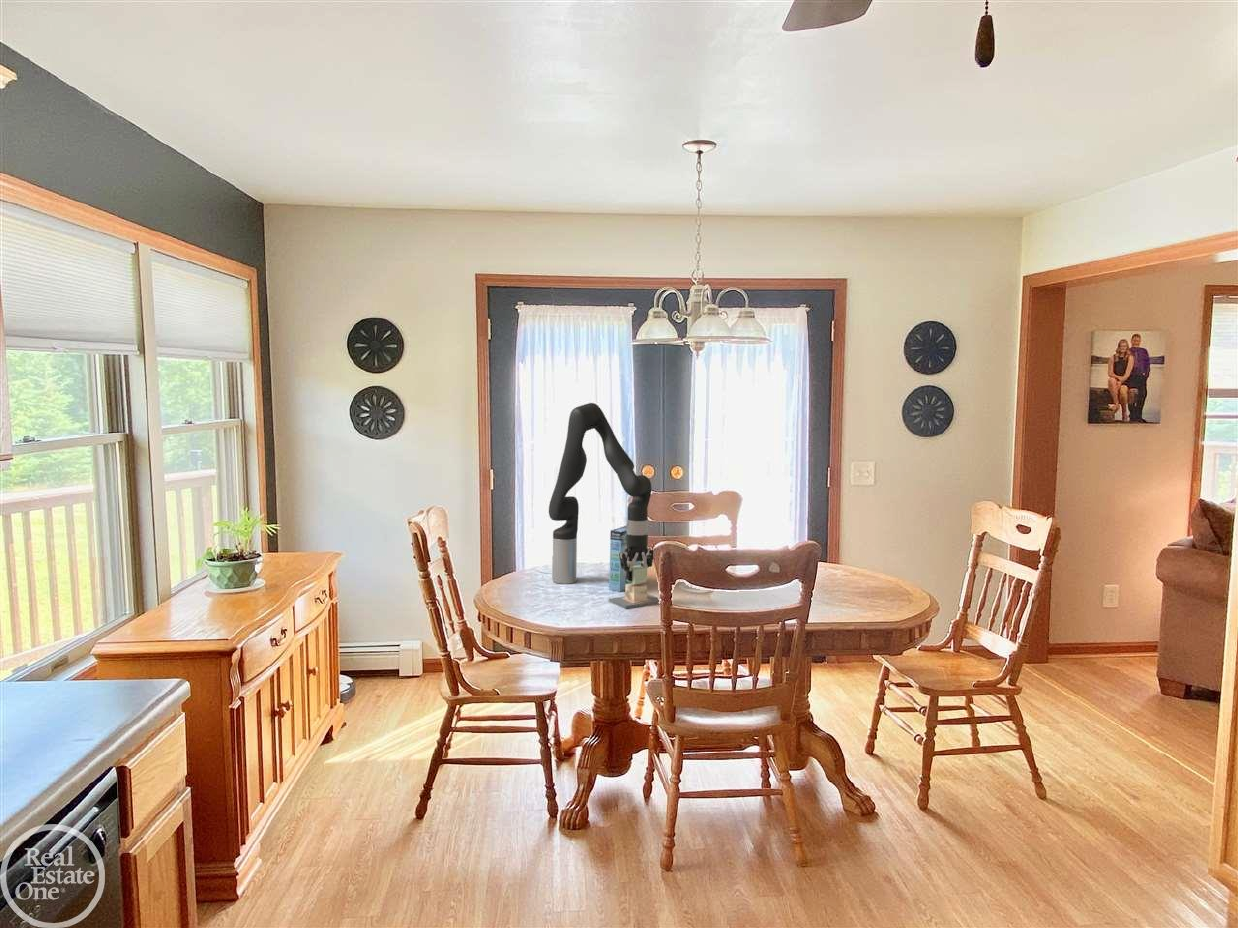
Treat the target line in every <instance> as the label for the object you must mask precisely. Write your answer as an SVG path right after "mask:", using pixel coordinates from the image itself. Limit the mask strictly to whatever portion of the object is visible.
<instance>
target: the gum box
mask: <svg viewBox="0 0 1238 928" xmlns="http://www.w3.org/2000/svg"><path fill="white" fill-rule="evenodd" d="M609 537H610V538H609V539H610V540H609V541H610V542H609V547H610V548H609V578H608V579H609V583H608V584H609V585H608V588H609V589H608V590H609V591H610V590H612V591H611V592H616V591H618V592H617V593H621V592H623V591H625V586H626V584H632V582H629V581H627V578H626V570H625V569H622V568H621V563H620V558H619V553H620V552H621V553H623V552H626V550H627V545H626V537H627V524H626V525H624V526H621V527H617V528H615V529H611V530H610V535H609ZM627 559H628V555H627V558H626V560H627ZM631 562H632V561H631ZM637 565H639V566H641V565H640V562H639V561H637V562H635V565H634V566H637Z"/></svg>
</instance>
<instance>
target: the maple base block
mask: <svg viewBox="0 0 1238 928" xmlns="http://www.w3.org/2000/svg"><path fill="white" fill-rule="evenodd" d="M624 591H625V596H624V597H625V598H626V599H628V600H631V601H633V602H636V601H642V600H647V594H648V585H647V584H644V583H636V584H634V583H632V584H626V586H625V590H624Z"/></svg>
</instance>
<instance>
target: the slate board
mask: <svg viewBox="0 0 1238 928" xmlns="http://www.w3.org/2000/svg"><path fill="white" fill-rule="evenodd" d="M658 598H659V597H656V596H654V595H652V594H649V593H647V600H642V601H636V602H633V601H631V600H628V599H626V598H625V596H620V597H614V598H613V597H612V598H608V603H610V604H613V605H615V604H616V605H615V606H617V607H620V608H622V609H624V610H627V609H629V610H630V609H634V608H633V607H635V608H641V607H646V606H647V605H648V606H652V605H653V604H654V605H659V604H658V602H659V600H658ZM640 606H641V607H640Z"/></svg>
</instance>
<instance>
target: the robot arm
mask: <svg viewBox="0 0 1238 928" xmlns="http://www.w3.org/2000/svg"><path fill="white" fill-rule="evenodd" d="M567 425H568V426H567V434H566V440H565V444H564V445H565V446H564V448H563V449H564V450H563V454H562V457H561V462H560V466H559V471H558V475H557V479H556V483H555V486H554V490H553V492H552V495H551V498H550V501H549V505H548V515H549V518H550V519H551V520H552V521H554V522H558V521H560V522H562V521H565V523H564V524H563V525H561V526H560V527H558V528H556V529H554V530H553V532H552V567H551V568H552V570H551V573H552V574H551V575H552V576H551V577H552V579H551V580H552V582H553V583H556V584H562V585H563V584H565V585H566V584H567V585H568V584H573V583H576V582H577V570H578V569H577V567H578V566H577V563H578V562H577V560H578V559H577V552H578V551H577V549H578V547H577V544H578V542H577V541H578V529H579V527H578V525H579V513H580V512H579V511H580V510H579V508H580V507H579V501H578V499H577V497H576V496H566V495H567V494H568V492H570V490H571V489H572V488H573V487H574V486H575V485H577V483H579V482H580V480H582V478H583V477H584V476H583V475H585V470H586V467H587V466H586V465H587V462H588V459H587V453H586V451H585V449H584V445H583V443H584V438H585V435H586V433H587V432H588V431H591V430H593V429H594V430H595V431H596V432H597V433H598V434H599V436H600V438H601V441H602V445H603V451H604V452H603V453H604V455H605V459H606V461H607V463H608V464H609V465H610V467H611V468H612V469H613V471H614V472H615V474H616V475H617V477H618V480H619V482H620V484H621V487H622V489H623V490H624V492H625V493H626V494H627V495H628V496H630V497H632V501H631V502H630V503H629V504H628V506H627V520H626V525H627V537H626V545H627V550H626V552H623V553H621V552H620V553H619V558H620V563H621V568H622V569H625V570H626V578H627V580H628V581H632V568H633V566H634V565H635V562H637V561H639V562H640V565H641V566H642V567H645V568H647V569H649V568H651V567H652V566H653V561H654V558H653V550H654V549H651V548H649V549H648V544H649V523H648V517H649V516H648V508H649V503H650V500H651V499H650V498H651V494H652V482H651V480H650V478H649V477H647V476H646V475H645V474H644V475H643V474H640V475H637V474H636V472H635V471H634V469H635V463H634V462H633V461H632V459H631V458H630V456H629V455H628V454H627V452H626V451H625V450H624V448H623V447H622V445H621V444H620V442H619V441H618V439H617V437H616V435H615V433H614V431H613V429H612V427H611V425H610V423H609V421H608V419H607V417H606V415H605V413H604V412H603V410H602V409H601V407H599V405H597V404H596V403H594V402H588V403H585V404H582V405H579V406H576V407H574V408H573V409H571V412H570V414H569V418H568V424H567ZM627 555H628V559H627V560H626V558H627ZM631 561H632V562H631Z"/></svg>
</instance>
